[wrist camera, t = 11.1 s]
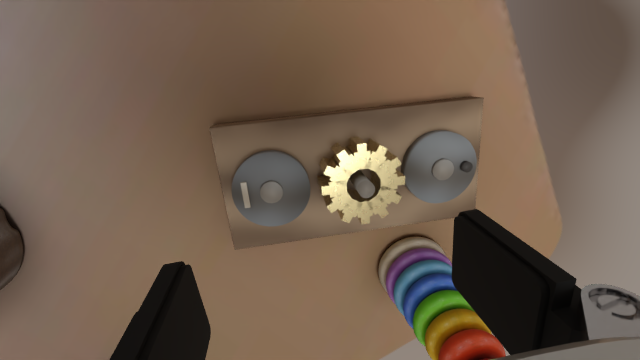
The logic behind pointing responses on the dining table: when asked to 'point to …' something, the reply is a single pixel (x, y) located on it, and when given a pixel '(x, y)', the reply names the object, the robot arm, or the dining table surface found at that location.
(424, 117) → the gear board
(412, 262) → the stacking toy
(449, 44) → the dining table surface
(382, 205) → the brass gear
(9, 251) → the plant pot
